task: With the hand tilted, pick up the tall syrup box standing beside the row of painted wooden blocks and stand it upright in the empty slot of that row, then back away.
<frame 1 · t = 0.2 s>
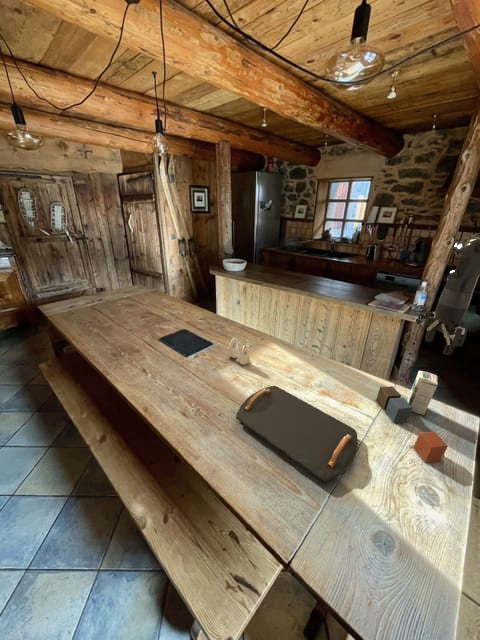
hand: (437, 347, 90), 25 cm above the table, tool pointing down, fingers open, 8 cm apart
serving tray: (293, 430, 89), on the table
terracotta block: (426, 454, 81), on the table
syrup box: (415, 408, 99), on the table
walnut block: (385, 404, 100), on the table
slate blue block: (395, 416, 94), on the table
shaker set: (237, 360, 125), on the table
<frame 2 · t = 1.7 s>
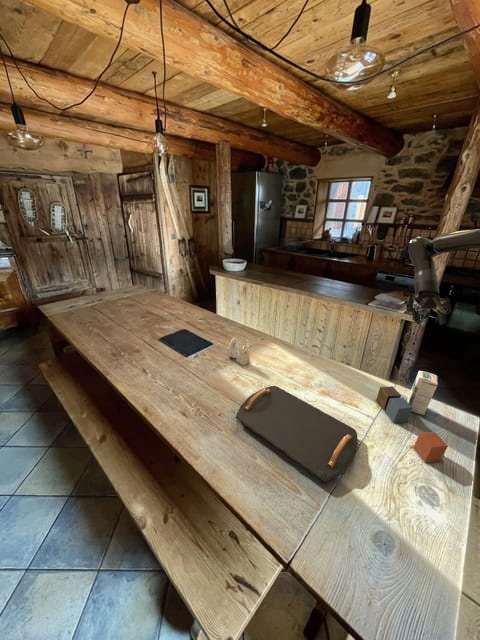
hand: (429, 323, 98), 29 cm above the table, tool tilted 45°, fingers open, 8 cm apart
nothing on the table moved.
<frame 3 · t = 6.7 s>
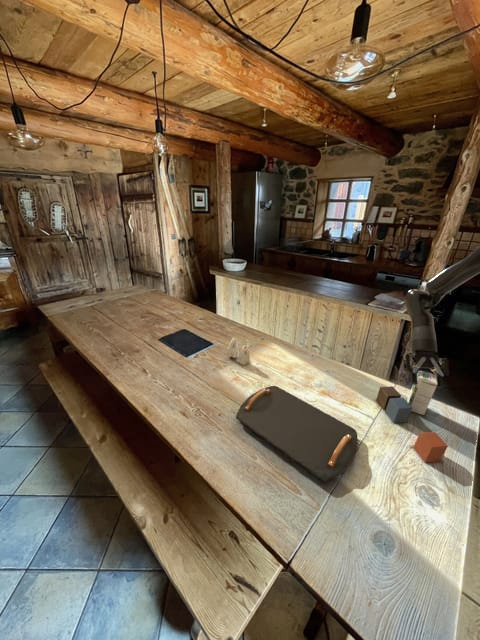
hand: (427, 385, 92), 12 cm above the table, tool tilted 45°, fingers closed on syrup box, 7 cm apart
syrup box: (415, 408, 99), on the table, touching gripper
everything else where it was.
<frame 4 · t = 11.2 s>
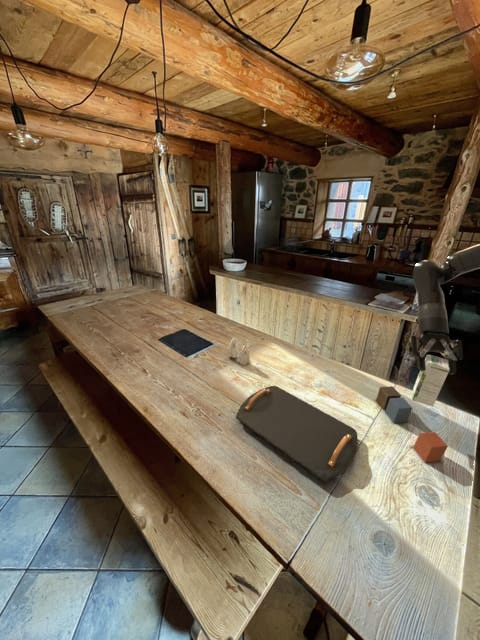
hand: (437, 372, 78), 24 cm above the table, tool tilted 45°, fingers closed on syrup box, 7 cm apart
syrup box: (422, 399, 85), point 12 cm above the table, touching gripper
everything else where it was.
when the fingers open (12 cm above the table, at t = 15.7 s): syrup box stays where it is, on the table.
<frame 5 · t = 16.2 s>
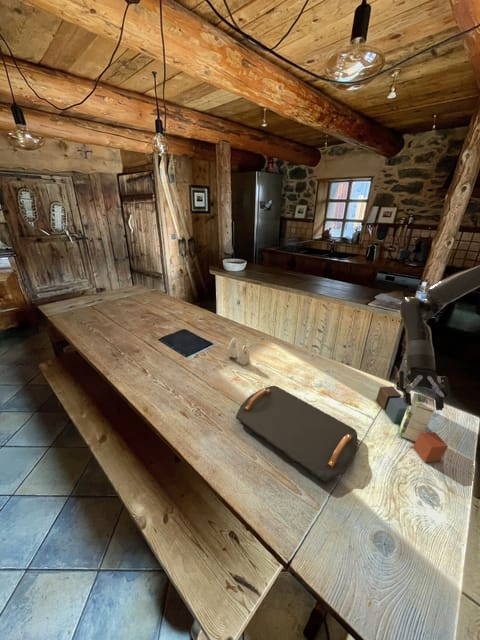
hand: (423, 407, 81), 13 cm above the table, tool tilted 45°, fingers open, 8 cm apart
syrup box: (409, 434, 88), on the table
everything else where it was.
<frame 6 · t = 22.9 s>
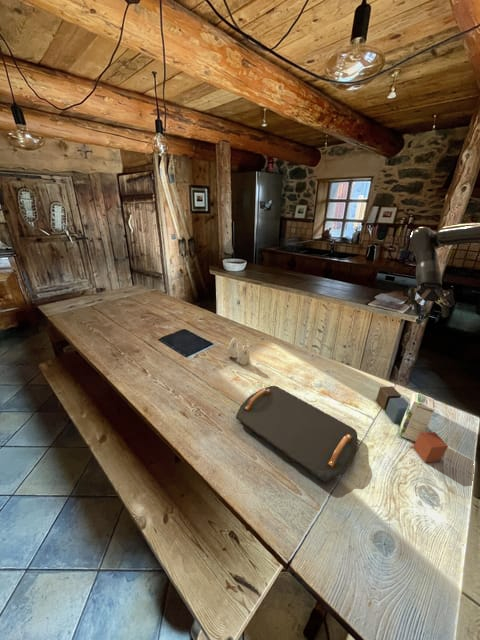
hand: (431, 315, 94), 33 cm above the table, tool tilted 45°, fingers open, 8 cm apart
nothing on the table moved.
at the end: syrup box 0.1 cm from the target spot, on the table; syrup box tilted 0°; slate blue block moved 0.0 cm from its start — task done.
